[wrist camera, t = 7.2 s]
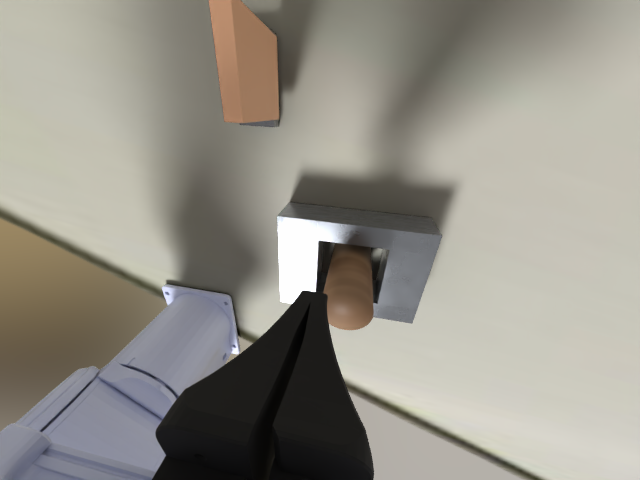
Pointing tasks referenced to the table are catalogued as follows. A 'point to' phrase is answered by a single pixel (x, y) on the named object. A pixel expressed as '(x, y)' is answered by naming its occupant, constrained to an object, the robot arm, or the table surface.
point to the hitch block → (363, 230)
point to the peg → (349, 287)
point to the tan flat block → (245, 63)
